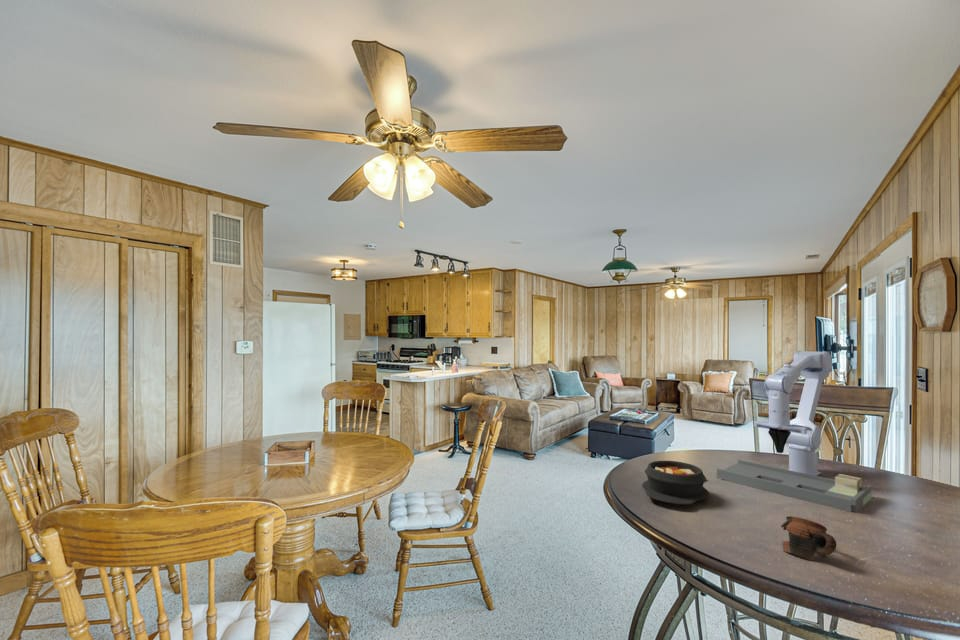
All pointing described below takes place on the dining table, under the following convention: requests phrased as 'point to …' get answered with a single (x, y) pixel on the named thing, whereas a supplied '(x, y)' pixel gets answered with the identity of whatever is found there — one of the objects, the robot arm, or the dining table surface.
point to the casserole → (675, 482)
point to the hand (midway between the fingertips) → (780, 452)
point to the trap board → (795, 485)
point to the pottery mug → (807, 538)
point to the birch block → (847, 484)
